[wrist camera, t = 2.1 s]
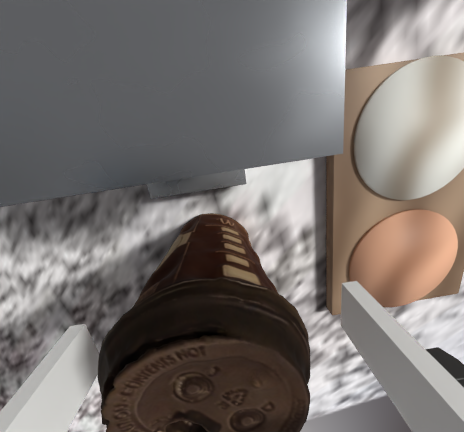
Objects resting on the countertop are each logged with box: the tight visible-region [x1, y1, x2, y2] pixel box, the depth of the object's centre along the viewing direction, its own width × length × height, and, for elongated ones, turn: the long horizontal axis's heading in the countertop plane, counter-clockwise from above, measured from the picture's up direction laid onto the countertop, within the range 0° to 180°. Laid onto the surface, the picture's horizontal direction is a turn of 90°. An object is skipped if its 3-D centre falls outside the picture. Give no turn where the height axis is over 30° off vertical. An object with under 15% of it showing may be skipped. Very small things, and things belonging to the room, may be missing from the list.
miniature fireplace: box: [0, 0, 347, 207], centre depth 10 cm, size 9×8×13 cm
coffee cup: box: [98, 213, 310, 432], centre depth 13 cm, size 9×8×13 cm
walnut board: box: [326, 53, 464, 315], centre depth 19 cm, size 13×21×2 cm, turn 8°
